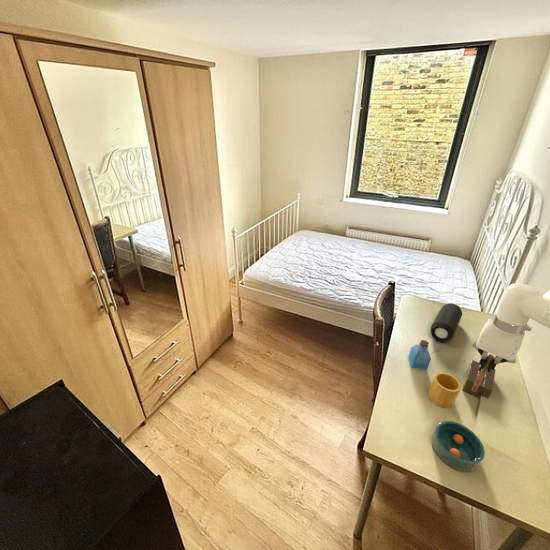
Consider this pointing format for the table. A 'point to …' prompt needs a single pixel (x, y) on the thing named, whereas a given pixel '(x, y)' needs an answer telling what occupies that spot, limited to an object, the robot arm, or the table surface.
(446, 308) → the portable speaker
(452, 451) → the dough ball
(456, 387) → the utensil pot
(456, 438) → the dough ball
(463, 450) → the bowl
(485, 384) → the holder
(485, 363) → the stirring stick
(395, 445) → the table surface
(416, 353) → the perfume bottle
